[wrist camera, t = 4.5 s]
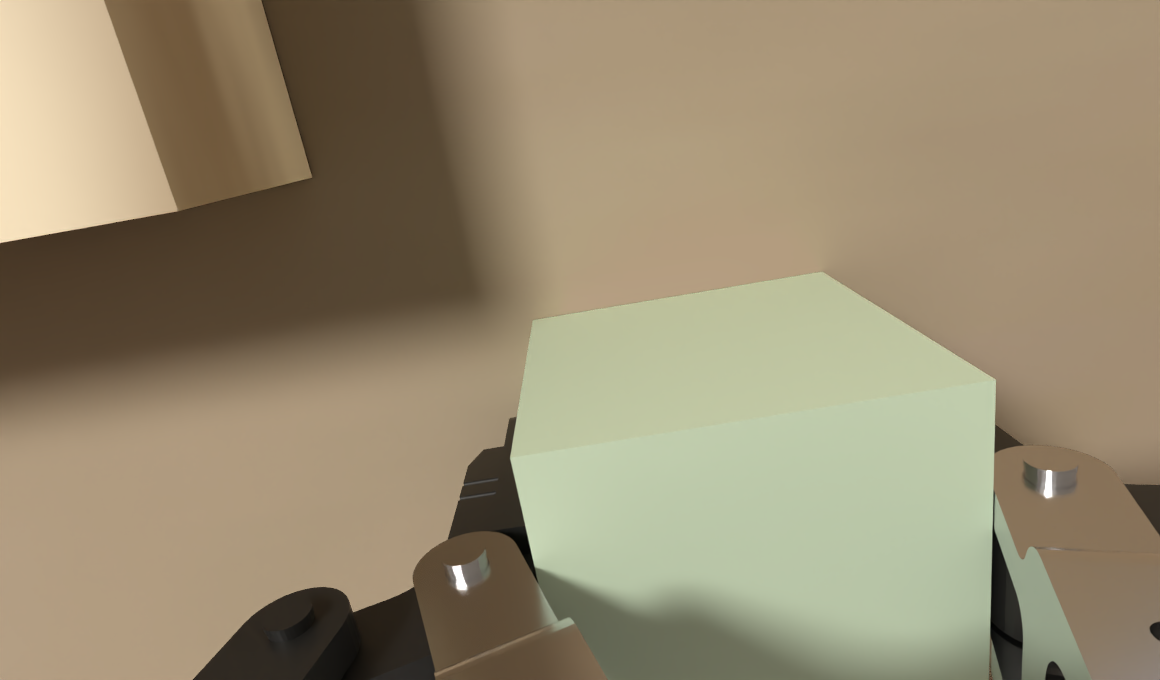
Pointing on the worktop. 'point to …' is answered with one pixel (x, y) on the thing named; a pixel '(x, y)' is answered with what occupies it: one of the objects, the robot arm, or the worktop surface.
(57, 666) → the worktop surface
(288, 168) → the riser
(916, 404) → the cube
